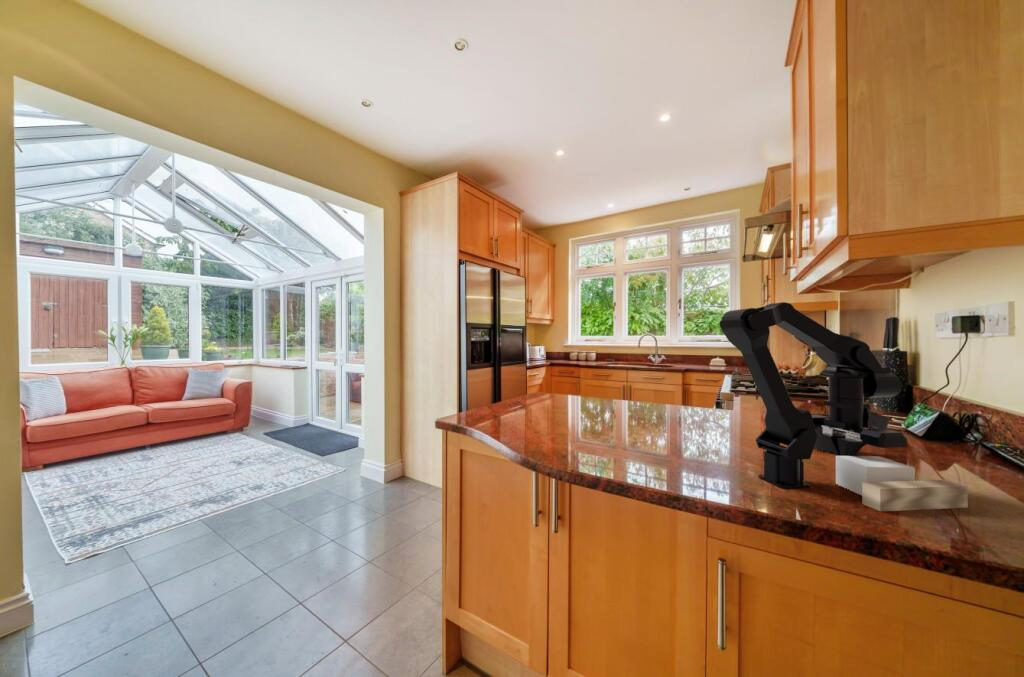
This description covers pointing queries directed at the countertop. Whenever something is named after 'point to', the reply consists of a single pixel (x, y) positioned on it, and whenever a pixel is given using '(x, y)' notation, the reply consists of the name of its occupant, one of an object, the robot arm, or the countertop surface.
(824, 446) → the mug
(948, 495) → the board
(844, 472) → the block
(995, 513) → the countertop surface
